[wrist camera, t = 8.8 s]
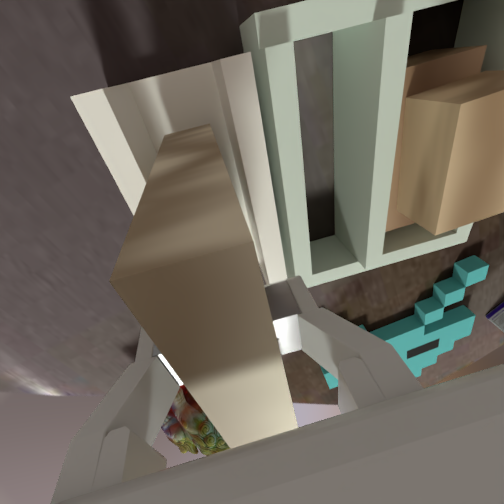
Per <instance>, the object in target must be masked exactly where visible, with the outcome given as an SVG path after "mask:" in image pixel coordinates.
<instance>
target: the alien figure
mask: <svg viewBox="0 0 504 504" xmlns="http://www.w3.org/2000/svg"><path fill="white" fill-rule="evenodd" d="M488 267H489V264H487V263H486V262H484V261H483V260H481V259H480V258H478V257H477V256H475V255H473V256H470V257H468V258H465V259H463V260H461V261H458V262H456V263H454V270H453V276H452V277H450V278H448V279H445V280H443V281H440V282H438V283H435V284H434V287H433V296H432V297H430V298H427V299H425V300H422V301H420V302H417V303H415V314H414V315H412V316H409V317H406V318H404V319H401V320H399V321H396V322H394V323H391V324H389V325H386V326H384V327H381V328H379V329H376V330H374V331H371V332H369V333H371V334H373V335H375V336H376V337H378V338H380V339H382V340H384V341H386V342H388V343H389V344H391V345H392V346H393V347H394V349H395V350H396V351H397V353H398V354H399V356H400V357H401V358H402V360H403V361H404V362H405V364H406V365H407V367H408V368H409V369H410V371H411V372H412V373H413V375H414V376H415V377H418V376H421V369H422V368H424V367H427V366H429V365H432V364H435V363H436V360H437V355H439V354H442V353H444V352H447V351H450V350H452V349H453V345H454V341H455V340H458V339H460V338H463V337H466V336H468V335H470V334H471V330H472V326H473V323H474V319H475V314H474V313H472V312H471V311H470V310H469V309H468V308H467V307H465V306H464V305H462V306H459V307H457V308H454V309H452V310H449V311H447V312H444V313H443V311H444V307H446V306H448V305H451V304H453V303H456V302H458V301H461V300H463V296H464V292H465V287H467V286H469V285H472V284H474V283H477V282H479V281H482V280H484V279H485V278H486V274H487V271H488ZM358 327H360V328H362V329H364V330H365V331H367V330H366V329H365V327H364V326H363V324H362V325H360V326H358ZM320 367H321V369H322V372H323V374H324V376H325V379H326V381H327V383H328V386H329V388H330V389H332V388H334V387H337V386H338V379H337V378H335V377H334V376H333V375H332V374H330V373H329V372H328V371H327V370H326V369H324V368H323V367H322V366H321V365H320Z"/></svg>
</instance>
